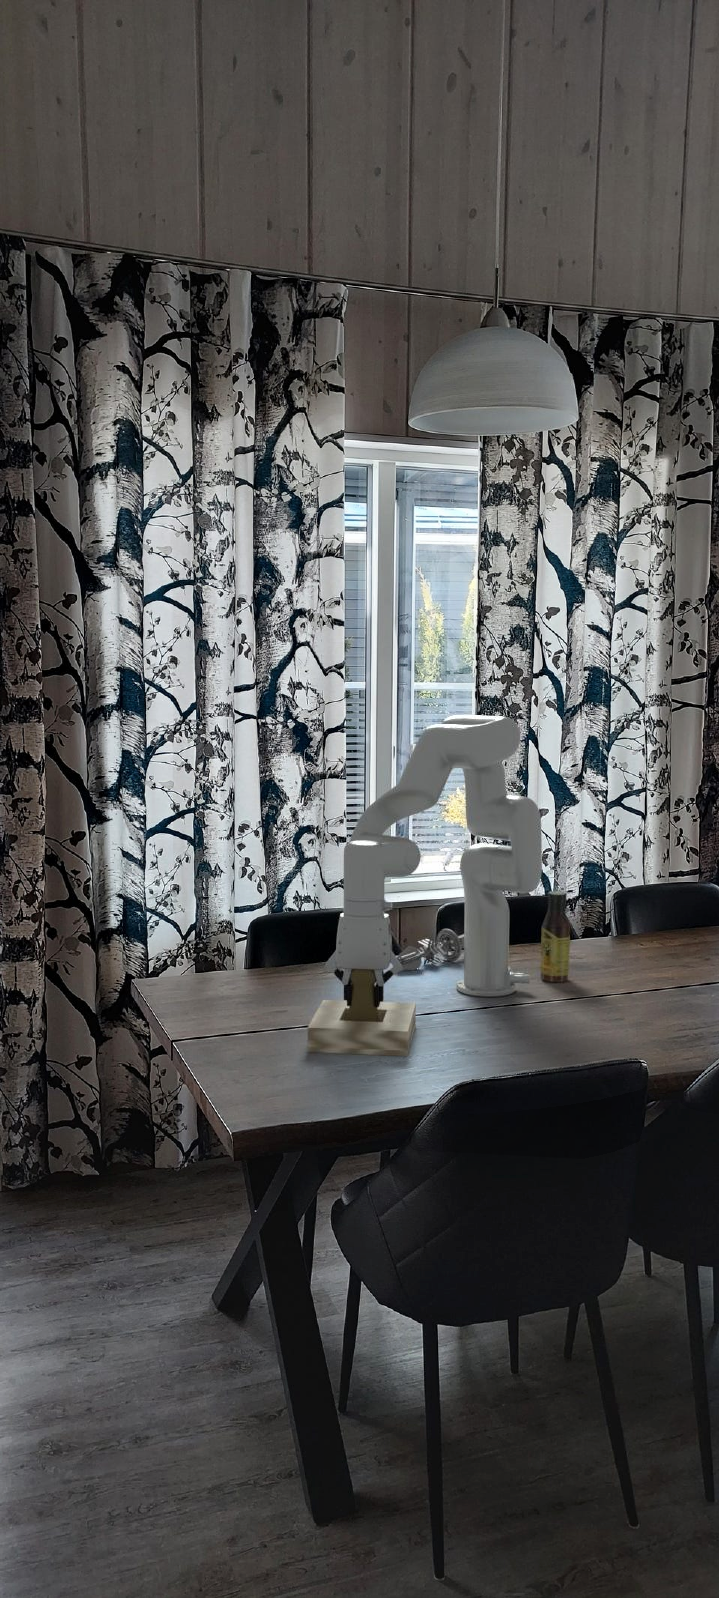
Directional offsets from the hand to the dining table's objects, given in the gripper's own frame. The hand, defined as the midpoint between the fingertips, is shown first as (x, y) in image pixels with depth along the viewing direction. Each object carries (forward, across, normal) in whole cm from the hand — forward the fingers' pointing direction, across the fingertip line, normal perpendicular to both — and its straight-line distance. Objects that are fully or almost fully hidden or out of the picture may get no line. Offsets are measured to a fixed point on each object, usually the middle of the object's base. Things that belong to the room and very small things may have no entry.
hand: (363, 1003), depth 216 cm
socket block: (+7, 0, 0) cm, 7 cm away
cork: (+4, 0, 0) cm, 4 cm away
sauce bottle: (+7, -37, -47) cm, 60 cm away
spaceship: (+7, -13, -61) cm, 63 cm away
